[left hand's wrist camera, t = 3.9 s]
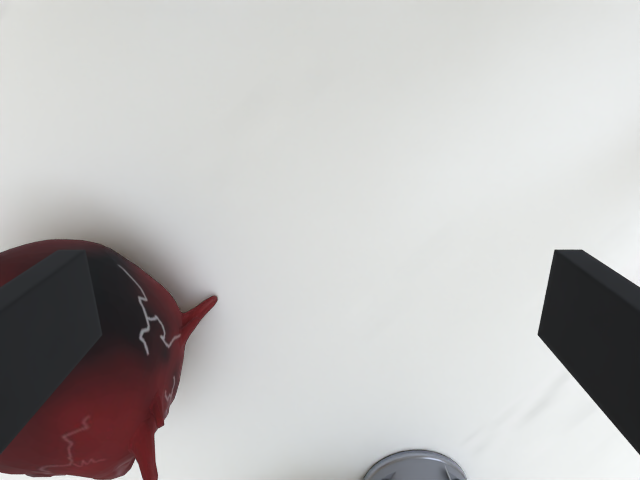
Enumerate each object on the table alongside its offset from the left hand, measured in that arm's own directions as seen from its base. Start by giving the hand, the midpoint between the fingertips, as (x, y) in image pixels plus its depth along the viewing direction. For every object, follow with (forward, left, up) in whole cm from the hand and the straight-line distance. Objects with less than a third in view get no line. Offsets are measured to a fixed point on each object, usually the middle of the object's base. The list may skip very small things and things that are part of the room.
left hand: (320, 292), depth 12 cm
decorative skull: (-21, +26, -35) cm, 48 cm away
